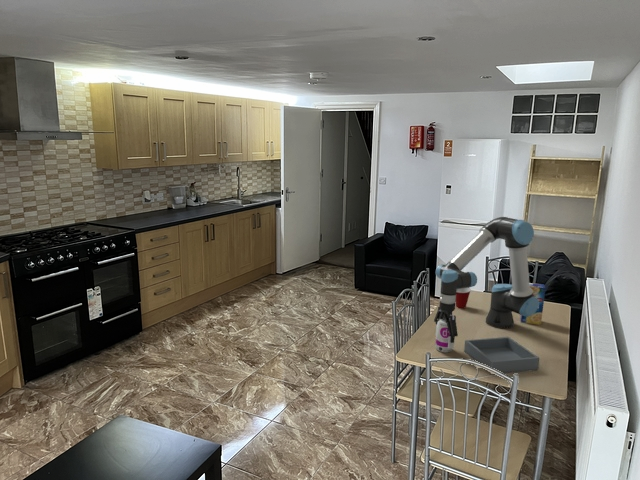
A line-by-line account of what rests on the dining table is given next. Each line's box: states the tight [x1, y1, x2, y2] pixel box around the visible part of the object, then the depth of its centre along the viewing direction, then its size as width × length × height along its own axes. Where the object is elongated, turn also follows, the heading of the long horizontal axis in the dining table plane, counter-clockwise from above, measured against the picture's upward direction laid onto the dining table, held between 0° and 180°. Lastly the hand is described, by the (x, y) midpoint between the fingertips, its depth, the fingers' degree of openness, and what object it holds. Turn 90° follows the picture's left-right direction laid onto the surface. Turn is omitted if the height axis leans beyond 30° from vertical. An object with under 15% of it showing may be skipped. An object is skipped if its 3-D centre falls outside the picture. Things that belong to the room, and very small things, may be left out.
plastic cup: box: [455, 287, 472, 309], centre depth 301 cm, size 11×11×12 cm
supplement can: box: [435, 319, 453, 354], centre depth 240 cm, size 8×8×15 cm
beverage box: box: [519, 282, 547, 325], centre depth 279 cm, size 7×11×22 cm, turn 72°
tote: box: [463, 336, 540, 374], centre depth 230 cm, size 24×24×6 cm
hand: (444, 342), depth 240 cm, fingers open, 13 cm apart
